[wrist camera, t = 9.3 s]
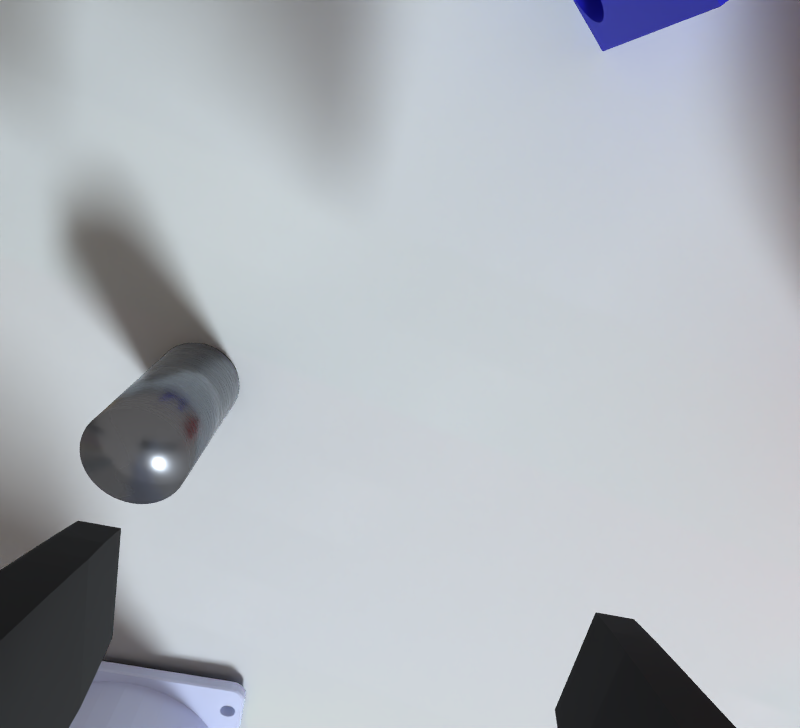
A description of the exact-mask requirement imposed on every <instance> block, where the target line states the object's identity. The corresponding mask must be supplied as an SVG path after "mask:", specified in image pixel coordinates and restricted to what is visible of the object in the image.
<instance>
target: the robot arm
mask: <svg viewBox="0 0 800 728" xmlns="http://www.w3.org/2000/svg"><path fill="white" fill-rule="evenodd" d="M120 534H121V528H116V527H110V526H105V525H99V524H93V523H88V522H82V521H77V522H75V523H74V524H72V525H70V526H69V527H67V528H66V529H64V530H62V531H61V532H59V533H57V534H56V535H54V536H53V537H51V538H50V539H48V540H46V541H45V542H43V543H42V544H40V545H39V546H37V547H35V548H34V549H32V550H31V551H29V552H28V553H26V554H25V555H23V556H22V557H20V558H18V559H17V560H15V561H14V562H12V563H11V564H9V565H8V566H6V567H4V568H3V569H1V570H0V728H240V724H241V718H242V713H243V707H244V702H245V696H246V690H245V689H244V687H243V686H242V685H240V684H239V683H236V682H232V681H226V680H219V679H213V678H207V677H200V676H194V675H188V674H182V673H175V672H169V671H163V670H156V669H150V668H144V667H138V666H131V665H125V664H119V663H112V662H106V661H102V660H103V657H104V655H105V653H106V651H107V648H108V646H109V644H110V642H111V639H112V635H113V622H114V609H115V597H116V584H117V572H118V559H119V547H120ZM228 706H231V707H228ZM555 713H556V720H557V727H558V728H736V727H735V726H734V725H733V724H732V723H731V722H730V721H729V720H728V718H727V717H726V716H725V715H724V714H723V713H722V712H721V711H720V710H719V709H718V708H717V707H716V706H715V705H714V703H713V702H712V701H711V700H710V699H709V698H708V697H707V696H706V695H705V694H704V693H703V692H702V691H701V689H700V688H699V687H698V686H697V685H696V684H695V683H694V682H693V681H692V680H691V679H690V678H689V677H688V675H687V674H686V673H685V672H684V671H683V670H682V669H681V668H680V667H679V666H678V665H677V664H676V662H675V661H674V660H673V659H672V658H671V657H670V656H669V655H668V654H667V653H666V652H665V651H664V650H663V649H662V648H661V646H660V645H659V644H658V643H657V642H656V641H655V640H654V639H653V638H652V637H651V636H650V635H649V634H648V633H647V632H646V631H645V630H644V629H643V628H642V627H641V626H640V625H639V624H638V623H637V622H636V621H635V620H634V619H630V618H624V617H618V616H613V615H607V614H601V613H595V616H594V618H593V620H592V623H591V625H590V627H589V630H588V632H587V635H586V637H585V639H584V642H583V644H582V647H581V649H580V651H579V654H578V656H577V658H576V661H575V663H574V666H573V668H572V670H571V673H570V675H569V677H568V680H567V682H566V685H565V687H564V689H563V692H562V694H561V697H560V699H559V701H558V704H557V706H556V708H555Z"/></svg>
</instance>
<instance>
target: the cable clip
mask: <svg viewBox="0 0 800 728" xmlns="http://www.w3.org/2000/svg"><path fill="white" fill-rule="evenodd" d="M727 1H728V0H574V2H575V4H576V6H577V7H578V9H579V11H580V13H581V14H582V16H583V18H584V20H585V21H586V23H587V25H588V27H589V28H590V30H591V32H592V34H593V35H594V37H595V39H596V41H597V42H598V44H599V46H600V48H601V49H602V51H605V50H608V49H610V48H613V47H615V46H618V45H621V44H623V43H626V42H628V41H631V40H634V39H636V38H639V37H642V36H644V35H647V34H649V33H652V32H655V31H657V30H660V29H662V28H665V27H668V26H670V25H673V24H675V23H678V22H681V21H683V20H686V19H689V18H691V17H694V16H696V15H699V14H702V13H704V12H707V11H709V10H712V9H715V8H717V7H720V6H722V5H723V4H724V3H725V2H727Z"/></svg>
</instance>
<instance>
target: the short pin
mask: <svg viewBox="0 0 800 728" xmlns="http://www.w3.org/2000/svg"><path fill="white" fill-rule="evenodd" d="M238 393H239V378H238V374H237V372H236V369H235V367H234V366H233V364H232V363H231V361H230V360H229V359H228V358H227V357H226V356H225V355H224V354H223V353H221V352H220V351H218V350H217V349H215V348H213V347H211V346H208V345H205V344H200V343H187V344H182V345H179V346H177V347H174V348H173V349H171V350H170V351H169V352H167V353H166V354H165V355H164V356H163V357H162V358H161V359H160V360H159V361H157V362H156V363H155V364H154V365H153V366H152V367H151V368H150V369H149V370H148V371H146V372H145V373H144V374H143V375H142V376H141V377H140V378H139V379H138V380H137V381H135V382H134V383H133V384H132V385H131V386H130V387H129V388H128V389H127V390H126V391H124V392H123V393H122V394H121V395H120V396H119V397H118V398H117V399H116V400H115V401H113V402H112V403H111V404H110V405H109V406H108V407H107V408H106V409H105V410H103V411H102V412H101V413H100V414H99V415H98V416H97V417H96V418H95V419H94V420H92V421H91V422H90V424H89V425H88V426H87V427H86V429H85V431H84V432H83V435H82V437H81V442H80V457H81V461H82V464H83V467H84V469H85V471H86V473H87V474H88V476H89V477H90V479H91V480H92V481H93V482H94V483H95V484H96V485H97V486H98V487H99V488H100V489H101V490H103V491H104V492H106V493H107V494H109V495H110V496H112V497H114V498H117V499H119V500H122V501H125V502H129V503H135V504H149V503H155V502H159V501H161V500H164V499H166V498H168V497H169V496H171V495H172V494H174V493H175V492H176V491H177V490H178V489H179V488H180V486H181V485H182V483H183V482H184V480H185V479H186V477H187V476H188V474H189V473H190V471H191V470H192V468H193V466H194V465H195V463H196V462H197V460H198V459H199V457H200V456H201V454H202V452H203V451H204V449H205V448H206V446H207V445H208V443H209V442H210V440H211V439H212V437H213V435H214V434H215V432H216V431H217V429H218V428H219V426H220V425H221V423H222V421H223V420H224V418H225V417H226V415H227V414H228V412H229V411H230V409H231V408H232V406H233V404H234V403H235V401H236V399H237V396H238Z"/></svg>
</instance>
